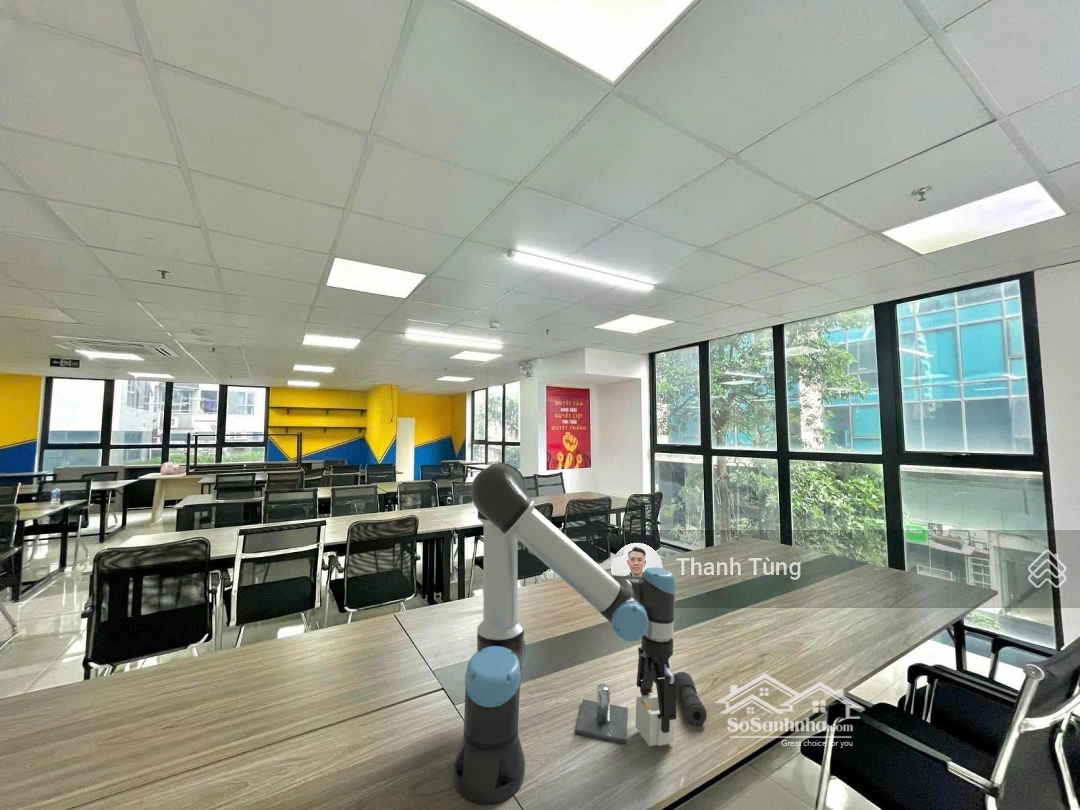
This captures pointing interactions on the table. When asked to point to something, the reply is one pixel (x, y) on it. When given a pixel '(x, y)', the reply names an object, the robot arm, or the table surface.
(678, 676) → the flashlight
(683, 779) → the table surface
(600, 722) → the shaft block
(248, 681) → the table surface
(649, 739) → the white hollow block
